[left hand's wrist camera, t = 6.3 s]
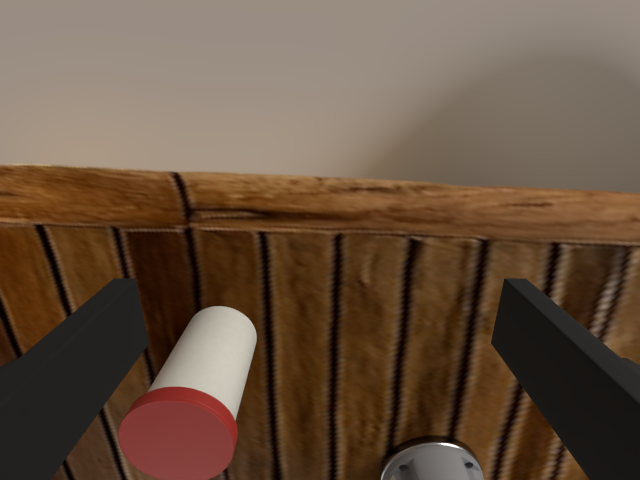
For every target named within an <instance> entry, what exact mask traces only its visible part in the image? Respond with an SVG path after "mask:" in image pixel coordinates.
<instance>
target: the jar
mask: <svg viewBox="0 0 640 480" xmlns="http://www.w3.org/2000/svg"><path fill="white" fill-rule="evenodd" d="M256 340H257V336H256V330H255V328H254V326H253V324H252V322H251V321H250V320H249V319H248V318H247V317H246V316H245V315H244V314H242V313H241V312H239V311H237V310H235V309H232V308H229V307H223V306H214V307H209V308H206V309H203V310H201V311H199V312H198V313H197V314H195V315H194V316H193V318H192V319H191V320H190V322H189V324H188V325H187V327H186V329H185V331H184V332H183V334H182V336H181V337H180V339H179V341H178V342H177V344H176V346H175V347H174V349H173V351H172V352H171V354H170V356H169V357H168V359H167V361H166V362H165V364H164V366H163V367H162V369H161V371H160V372H159V374H158V376H157V377H156V379H155V381H154V382H153V384H152V386H151V387H150V389H149V391H152V390H155V389H158V388H163V387H176V386H179V387H187V388H192V389H196V390H199V391H202V392H205V393H207V394H209V395H211V396H213V397H215V398H216V399H217V400H219V401H220V402H221V403H223V404H224V405H225V406H226V407H227V408H228V409H229V411H230V412H231V414H232V415H233V417H234V419H235V420H236V417H237V413H238V409H239V405H240V402H241V398H242V394H243V390H244V386H245V383H246V379H247V375H248V371H249V368H250V364H251V360H252V356H253V353H254V349H255V345H256ZM149 391H148V392H149ZM148 392H147V393H148Z"/></svg>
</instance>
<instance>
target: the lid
mask: <svg viewBox="0 0 640 480" xmlns="http://www.w3.org/2000/svg"><path fill="white" fill-rule="evenodd" d="M237 437H238V430H237V424H236V421H235V419H234V417H233V415H232V414H231V412H230V411H229V409H228V408H227V407H226V406H225V405H224V404H223V403H221V402H220V401H219V400H217V399H216V398H215V397H213V396H211V395H209V394H207V393H205V392H202V391H199V390H196V389H192V388H187V387H179V386H176V387H163V388H158V389H155V390H152V391H149V392H148V393H146V394H144V395H142V396H141V397H139V398H138V399H137V400H136V401H135V402H134V403H133V405H132V406H131V408H130V409H129V411H128V412H127V414H126V416H125V417H124V419H123V420H122V423H121V425H120V427H119V432H118V440H119V444H120V448H121V450H122V452H123V454H124V455H125V457H126V458H127V459H128V460H129V461H130V462H131V463H132V464H133V465H134V466H135V467H136V468H138V469H139V470H140V471H142V472H144V473H145V474H147V475H149V476H152V477H154V478H157V479H160V480H208V479H210V478H212V477H215V476H216V475H218V474H219V473H221V472H222V471H223V470H224V469H225V468H226V467H227V466H228V465H229V463H230V462H231V459H232V457H233V453H234V449H235V445H236V441H237Z"/></svg>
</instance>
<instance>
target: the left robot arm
mask: <svg viewBox="0 0 640 480" xmlns="http://www.w3.org/2000/svg"><path fill="white" fill-rule="evenodd" d="M148 344H149V341H148V336H147V331H146V326H145V321H144V317H143V312H142V307H141V302H140V297H139V293H138V288H137V283H136V279H113V280H112V281H111V282H110V283H108V284H107V285H106V286H105V287H104V288H102V289H101V290H100V291H99V292H98V293H96V294H95V295H94V296H93V297H92V298H90V299H89V300H88V301H87V302H86V303H84V304H83V305H82V306H81V307H80V308H78V309H77V310H76V311H75V312H74V313H72V314H71V315H70V316H69V317H68V318H66V319H65V320H64V321H63V322H62V323H61V324H59V325H58V326H57V327H56V328H55V329H53V330H52V331H51V332H50V333H49V334H47V335H46V336H45V337H44V338H43V339H41V340H40V341H39V342H38V343H37V344H35V345H34V346H33V347H32V348H31V349H29V350H28V351H27V352H26V353H25V354H23V355H22V356H21V357H20V358H19V359H17V360H12V361H10V362H8V363H7V364H5V365H3V366H1V367H0V480H50V479H51V478H52V477H53V475H54V474H55V472H56V471H57V470H58V468H59V467H60V465H61V464H62V463H63V461H64V460H65V459H66V457H67V456H68V454H69V453H70V452H71V450H72V449H73V447H74V446H75V445H76V443H77V442H78V441H79V439H80V438H81V436H82V435H83V434H84V432H85V431H86V430H87V428H88V427H89V425H90V424H91V423H92V421H93V420H94V418H95V417H96V416H97V414H98V413H99V412H100V410H101V409H102V407H103V406H104V405H105V403H106V402H107V400H108V399H109V398H110V396H111V395H112V394H113V392H114V391H115V389H116V388H117V387H118V385H119V384H120V382H121V381H122V380H123V378H124V377H125V376H126V374H127V373H128V371H129V370H130V369H131V367H132V366H133V364H134V363H135V362H136V360H137V359H138V358H139V356H140V355H141V353H142V352H143V351H144V349H145V348H146V347H147V345H148ZM491 344H492V345H493V347H494V348H495V349H496V351H497V352H498V353H499V355H500V356H501V358H502V359H503V360H504V362H505V363H506V364H507V366H508V367H509V369H510V370H511V371H512V373H513V374H514V376H515V377H516V378H517V380H518V381H519V382H520V384H521V385H522V387H523V388H524V389H525V391H526V392H527V394H528V395H529V396H530V398H531V399H532V400H533V402H534V403H535V405H536V406H537V407H538V409H539V410H540V412H541V413H542V414H543V416H544V417H545V418H546V420H547V421H548V423H549V424H550V425H551V427H552V428H553V430H554V431H555V432H556V434H557V435H558V436H559V438H560V439H561V441H562V442H563V443H564V445H565V446H566V447H567V449H568V450H569V452H570V453H571V454H572V456H573V457H574V459H575V460H576V461H577V463H578V464H579V465H580V467H581V468H582V470H583V471H584V472H585V474H586V475H587V477H588V478H589V479H590V480H640V365H638V364H636V363H634V362H633V361H631V360H629V359H627V358H620V357H619V356H618V355H617V354H615V353H614V352H613V351H612V350H611V349H609V348H608V347H607V346H606V345H605V344H603V343H602V342H601V341H600V340H599V339H597V338H596V337H595V336H594V335H593V334H591V333H590V332H589V331H588V330H587V329H585V328H584V327H583V326H582V325H581V324H579V323H578V322H577V321H576V320H575V319H574V318H572V317H571V316H570V315H569V314H568V313H566V312H565V311H564V310H563V309H562V308H560V307H559V306H558V305H557V304H556V303H554V302H553V301H552V300H551V299H550V298H548V297H547V296H546V295H545V294H544V293H542V292H541V291H540V290H539V289H538V288H536V287H535V286H534V285H533V284H532V283H530V282H529V281H528V280H527V279H504V283H503V288H502V293H501V297H500V302H499V307H498V312H497V317H496V321H495V326H494V331H493V336H492V341H491ZM380 480H484V478H483V474H482V469H481V467H480V464H479V462H478V460H477V458H476V456H475V454H474V453H473V451H472V450H471V449H470V448H469V447H467V446H466V445H465V444H463V443H461V442H459V441H457V440H454V439H450V438H445V437H424V438H419V439H415V440H411V441H409V442H406V443H404V444H402V445H400V446H398V447H397V448H395V449H394V450H393V451H392V452H391V453H390V454H389V455H388V456H387V457H386V458H385V460H384V461H383V463H382V465H381V468H380Z"/></svg>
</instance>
